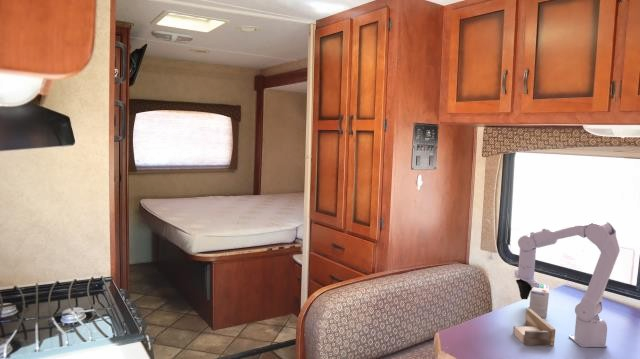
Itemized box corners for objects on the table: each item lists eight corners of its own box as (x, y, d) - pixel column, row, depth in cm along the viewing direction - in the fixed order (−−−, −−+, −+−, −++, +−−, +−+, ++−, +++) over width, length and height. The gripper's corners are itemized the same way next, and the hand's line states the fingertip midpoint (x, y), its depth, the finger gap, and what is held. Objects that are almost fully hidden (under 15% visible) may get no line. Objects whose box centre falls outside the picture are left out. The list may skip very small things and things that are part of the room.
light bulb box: (529, 306, 197) (531, 282, 196) (546, 309, 194) (549, 284, 193) (528, 315, 187) (530, 290, 186) (547, 318, 184) (549, 293, 183)
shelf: (529, 323, 180) (530, 308, 179) (554, 345, 162) (555, 329, 161) (503, 323, 180) (504, 308, 179) (525, 345, 162) (526, 329, 161)
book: (534, 333, 171) (535, 326, 171) (544, 342, 164) (544, 334, 164) (513, 333, 171) (514, 326, 171) (522, 342, 164) (522, 334, 164)
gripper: (508, 259, 186) (505, 291, 187) (525, 271, 171) (522, 305, 173) (525, 259, 186) (522, 291, 187) (544, 271, 171) (541, 306, 173)
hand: (524, 298), depth 180 cm, fingers closed
